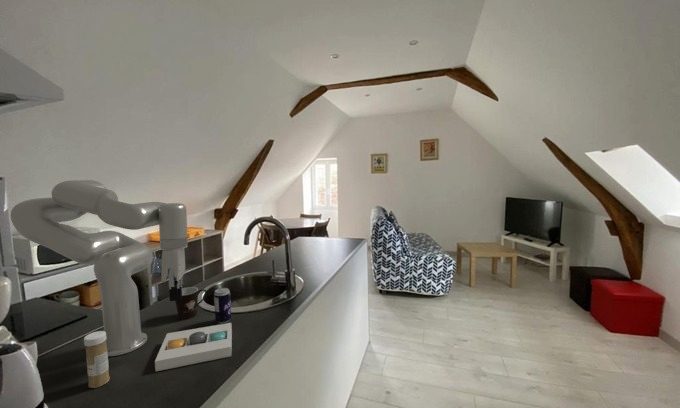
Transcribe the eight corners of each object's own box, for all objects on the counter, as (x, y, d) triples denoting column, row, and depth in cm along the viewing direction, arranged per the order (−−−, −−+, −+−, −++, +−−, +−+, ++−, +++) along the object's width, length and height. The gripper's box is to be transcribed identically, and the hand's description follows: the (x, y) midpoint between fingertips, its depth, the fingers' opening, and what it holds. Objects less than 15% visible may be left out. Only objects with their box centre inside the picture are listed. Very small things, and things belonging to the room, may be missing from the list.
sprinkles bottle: (85, 385, 79) (80, 336, 77) (106, 375, 83) (101, 328, 81) (92, 391, 76) (87, 341, 75) (113, 380, 80) (109, 333, 79)
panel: (155, 371, 84) (154, 361, 83) (167, 342, 99) (167, 333, 98) (231, 356, 90) (230, 346, 90) (231, 330, 105) (231, 322, 105)
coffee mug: (174, 322, 112) (172, 297, 111) (176, 313, 120) (174, 289, 119) (208, 316, 117) (206, 291, 116) (208, 307, 124) (206, 284, 124)
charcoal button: (188, 348, 92) (188, 340, 91) (190, 340, 96) (190, 333, 95) (204, 345, 93) (204, 337, 93) (205, 337, 97) (205, 330, 97)
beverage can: (226, 325, 109) (224, 293, 108) (212, 323, 111) (210, 292, 109) (234, 318, 115) (232, 287, 114) (221, 316, 116) (219, 287, 115)
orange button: (167, 355, 90) (166, 347, 89) (170, 347, 94) (169, 340, 94) (183, 352, 91) (182, 344, 91) (185, 345, 95) (185, 337, 95)
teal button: (210, 347, 94) (209, 339, 93) (211, 340, 98) (211, 333, 98) (225, 344, 95) (224, 337, 95) (225, 337, 99) (225, 330, 99)
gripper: (166, 238, 99) (168, 292, 101) (152, 249, 85) (155, 311, 86) (191, 237, 101) (193, 290, 103) (182, 248, 87) (184, 308, 89)
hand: (176, 299), depth 95 cm, fingers closed
